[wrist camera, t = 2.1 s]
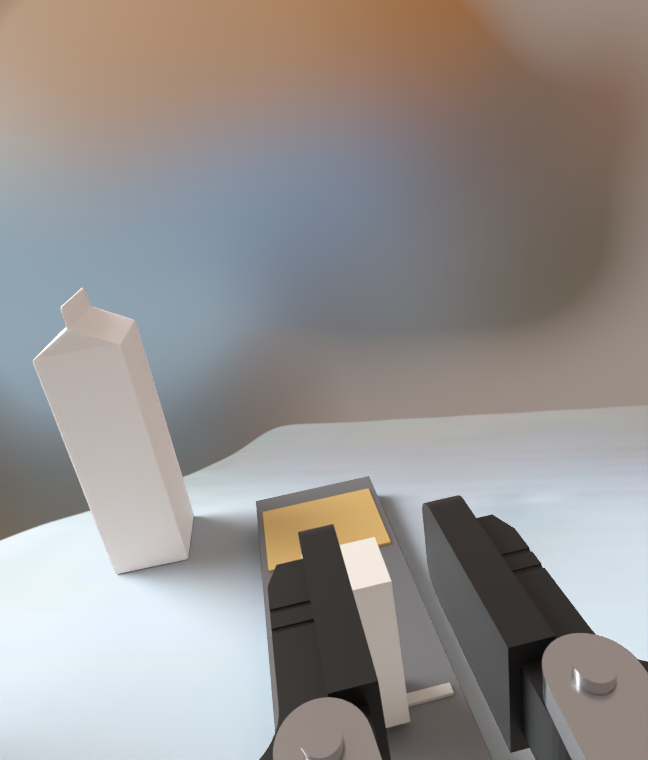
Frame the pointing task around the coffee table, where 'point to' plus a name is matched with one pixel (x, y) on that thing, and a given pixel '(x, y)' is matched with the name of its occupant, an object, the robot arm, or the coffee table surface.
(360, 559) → the block
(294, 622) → the robot arm
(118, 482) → the milk
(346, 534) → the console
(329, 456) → the coffee table surface
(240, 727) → the coffee table surface
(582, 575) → the coffee table surface
